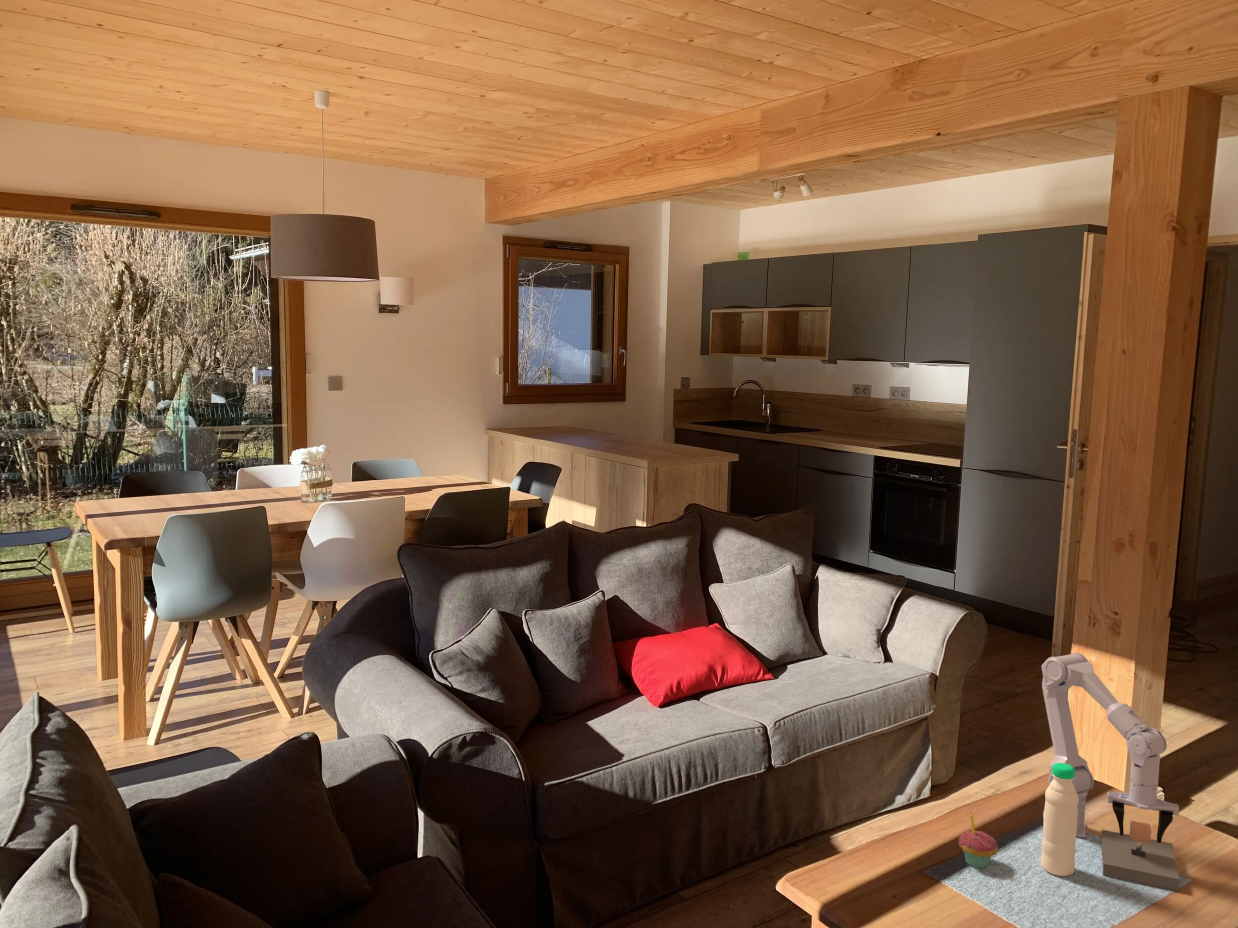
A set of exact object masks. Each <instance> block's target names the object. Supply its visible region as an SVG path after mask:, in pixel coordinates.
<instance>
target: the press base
mask: <svg viewBox="0 0 1238 928" xmlns="http://www.w3.org/2000/svg"><path fill="white" fill-rule="evenodd" d="M1100 839H1101V840H1100V841H1101V844H1100V845H1101V861H1102V876H1104V875H1107V876H1106V877H1109V876H1111V877H1110V878H1114V877H1117V878H1116V879H1118V878H1121V879H1120V880H1123V879H1124V880H1123V881H1127V882H1128V881H1129V882H1132V881H1133V883H1137V882H1138V884H1142V885H1147V886H1151V887H1156V888H1160V889H1165V890H1171V891H1174V892H1179V889H1180V887H1179V886H1180V877H1179V871H1178V866H1177V861H1176V856H1175V851H1174V845H1173V843H1172V842H1167V841H1162V840H1161V843H1157V839H1152V838H1151V839H1150V844H1148V843H1143V842H1142V852H1141V853H1140V852H1137V851H1136V843H1137V841H1133V840H1130V834H1125V833H1123V836H1122V835H1120V832H1116V831H1111V830H1105V829H1101V837H1100Z"/></svg>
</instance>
